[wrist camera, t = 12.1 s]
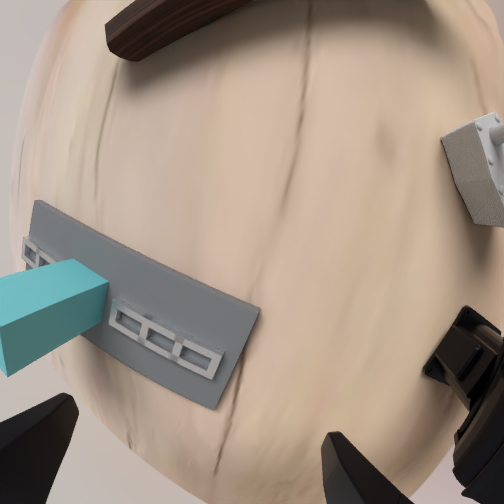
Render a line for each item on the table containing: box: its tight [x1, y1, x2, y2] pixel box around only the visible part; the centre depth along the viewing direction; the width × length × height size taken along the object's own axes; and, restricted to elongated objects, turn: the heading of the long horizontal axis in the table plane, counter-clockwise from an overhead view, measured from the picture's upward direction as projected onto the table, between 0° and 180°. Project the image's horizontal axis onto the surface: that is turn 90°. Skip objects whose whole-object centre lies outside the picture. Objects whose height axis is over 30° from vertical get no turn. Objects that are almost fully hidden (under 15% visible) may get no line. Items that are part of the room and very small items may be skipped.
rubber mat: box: [26, 200, 260, 410], centre depth 21 cm, size 24×10×1 cm, turn 68°
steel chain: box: [21, 236, 225, 380], centre depth 20 cm, size 23×2×1 cm, turn 68°
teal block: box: [0, 258, 109, 377], centre depth 15 cm, size 4×4×11 cm
